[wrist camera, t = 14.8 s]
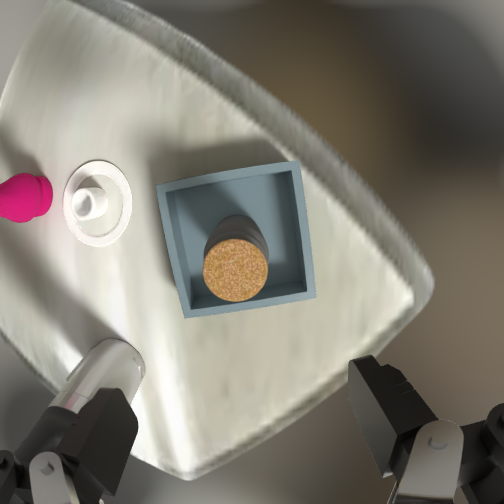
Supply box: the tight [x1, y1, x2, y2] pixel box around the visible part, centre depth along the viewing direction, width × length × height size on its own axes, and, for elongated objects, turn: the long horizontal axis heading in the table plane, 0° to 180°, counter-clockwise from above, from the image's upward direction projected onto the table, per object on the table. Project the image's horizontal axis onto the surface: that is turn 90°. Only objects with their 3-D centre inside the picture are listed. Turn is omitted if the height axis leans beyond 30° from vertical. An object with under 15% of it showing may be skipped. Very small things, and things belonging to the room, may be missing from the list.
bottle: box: [203, 215, 269, 301], centre depth 27 cm, size 6×6×15 cm
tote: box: [156, 160, 316, 318], centre depth 33 cm, size 16×16×5 cm
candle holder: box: [63, 161, 132, 247], centre depth 32 cm, size 12×12×4 cm
